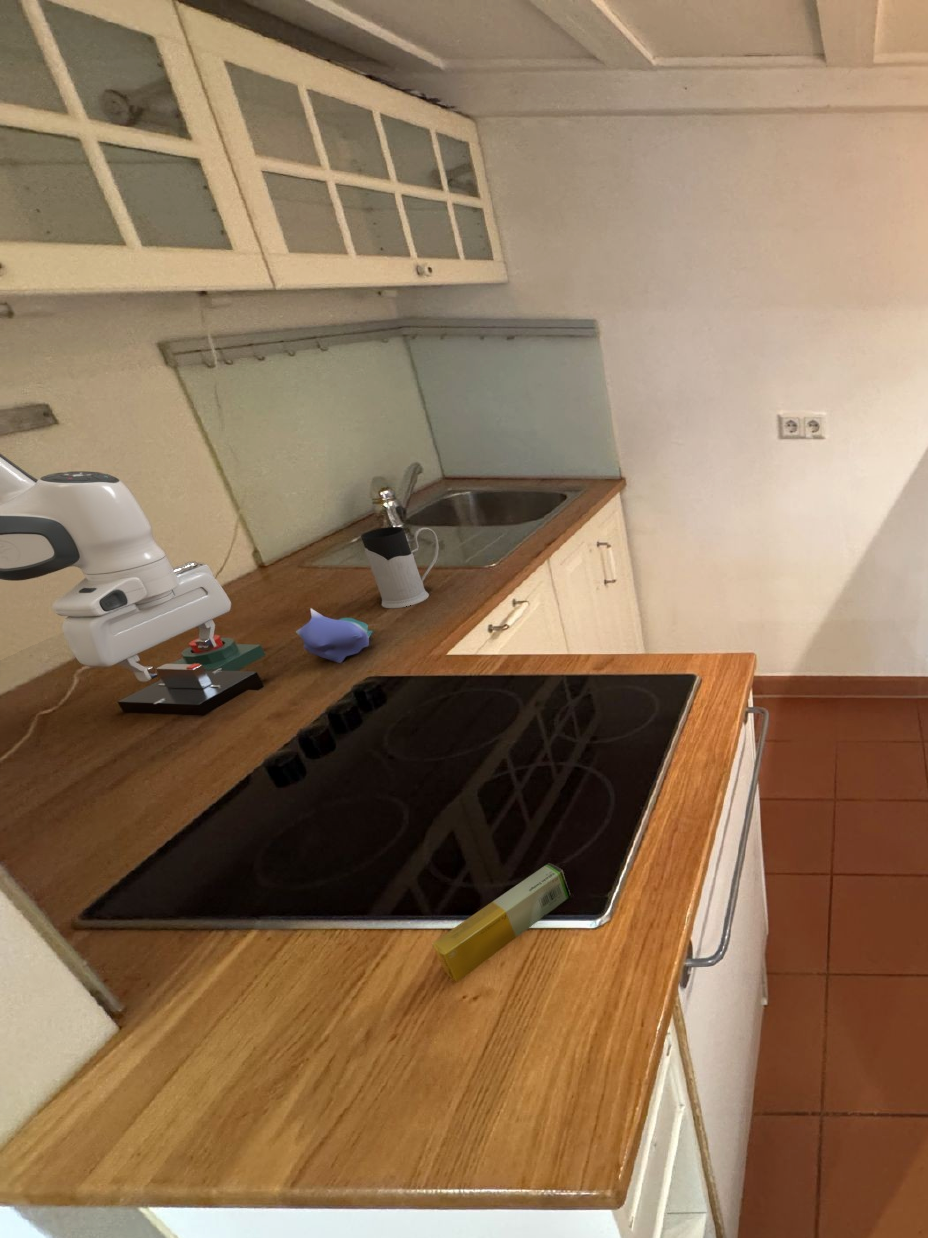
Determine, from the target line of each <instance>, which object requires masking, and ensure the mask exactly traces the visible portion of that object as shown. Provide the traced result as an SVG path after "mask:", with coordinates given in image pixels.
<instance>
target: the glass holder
mask: <svg viewBox="0 0 928 1238" xmlns="http://www.w3.org/2000/svg"><path fill="white" fill-rule="evenodd" d="M424 530H427V531H430V532H431V533H432V535H433V538H434V542H435V550H434V556H433V559H432V560H431V563H430V564H429V566H428V567H427V569H426V570H425V572H424V573H423V575H422V576H421V574H420V571H419V568H418V565H417V562H416V559H415V556H414V554H413V553H415V552H417V551H418V550H419V543H418V537H419V536H418V535H419V533H421V531H424ZM360 538H361V541H362V544H363V546H364V547H363V548H364V552H365V555H366V558H367V561H368V564H369V567H370V569H371V572H372V575H373V578H374V581H375V583H376V587H377V589H378V592H379V594H380V597H381V606H382V608H385V609H400V608H401V609H402V608H406V606H407V607H411V606H414V605H417V604H420V603H422V602H424V601H426V600H427V599H428V598H429V596H430V594H429V593H428V591H426V589H425V587H424V580H425V579H426V577H427V575H428V574H429V573H430V572H431V570H432V569H433V567H434V565H435V563H436V562H437V559H438V557H439V549H440V547H439V540H438V539H439V538H438V536H437V534H436V532H435V531H434V530H433V529H431V528H429V527H420V528H418V529H417V530H416V531H415V533H414V535H413V541H414V546H415V548H414V549H412V550H411V548H410V543H409V540H408V538H407V535H406V532H405V529H404V527H402V526H401V527H400V526H388V527H380V528H375V529H372V530H369V531H366V532H364V533H362V534H361V535H360ZM410 605H411V606H410Z"/></svg>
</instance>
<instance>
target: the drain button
mask: <svg viewBox="0 0 928 1238" xmlns="http://www.w3.org/2000/svg"><path fill="white" fill-rule="evenodd" d="M221 638H222V637H221V636H220V634H219V635H218V634H214V637H213V639H214V641H215V643H216V645H217V646H216V647H215V648H213V649H211V650H214V649H217V648H219V647H221V646H223V642H222V640H221ZM198 639H199V637H197V638H195V639H193V640H191V641H190V642H189V643H188V644H189V647H191V649H192V650H193V652H194V653H203V652H208V651H200V650H199V649H198V646H197V645H196V643H195V641H196V640H198ZM211 650H209V651H211Z"/></svg>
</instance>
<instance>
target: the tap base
mask: <svg viewBox="0 0 928 1238" xmlns="http://www.w3.org/2000/svg"><path fill="white" fill-rule="evenodd" d="M221 669H222V668H219V669H217V670H205V671H206V673H207V675H208V677H209V679H210V681H211V683H212V684H210V685H208V686H207V687H205V688H203V689H196V688H166V686H165V684H164V682H163V681H162V679H161V678H160V680H157V681H155V682H153V683H151V684H149V685H148V686H146V687H144V688H142V689H139V690H138V691H136V692H134V693H132V694H129V695H128V696H126V697H124V698H122V699H120V700H118V701H117V704H118V706H119V707H120V709H121V711H122V713H124V714H145V715H146V714H147V715H148V714H150V715H173V716H174V715H177V716H202V717H203V716H206V715H208V714H209V713H211V712H213V711H215V710H216V709H218V708H220V707H221V706H223V705H225V704H227V703H228V702H230V701H232V700H233V699H235V698H237V697H238V696H241V695H242V694H244V693H245V692H248V691H260V690H261V689H263V688H264V687H265V686H264V683H263V681H262V680H261V677H260V675H259V673H258V671H255V670H253V671H252V670H237V671H222V670H221Z"/></svg>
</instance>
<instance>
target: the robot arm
mask: <svg viewBox="0 0 928 1238" xmlns="http://www.w3.org/2000/svg"><path fill="white" fill-rule="evenodd" d="M70 567H75V568H79V570H80V571H81V572H82V573H83V575H84V577H85V578H84V579H82V580H81V581H80V582H79V583H77V584H76V585H75V586H74V587H72V588H71V589H70V590H68V591H67V592H65V593H64V594H62V595H61V596H60V597H59V598H57V599H56V600H55V601H54V602H52V604H51V607H52V610H53V612H54V613H55V614H56V615H58V616H60V617H66V618H65V619H64V620H63V622H62V625H61V627H62V633H63V635H64V636H63V637H64V639H65V640H66V643H67V644H68V647H69V648H70V650H71V652H72V654H73V655H74V657H75V658H76V660H77V662H78V663H79V664H81V665H83V666H86V667H89V668H110V667H112V666H115V665H118V666H120V667H122V668H124V669H126V670H127V671H130V672H132V673H133V674H134V676H135V677H136V679H137V680H138V681H139V682H149V681H151V680H153V679H155V678H157V677H158V675H159V673H158V672H157V671H156V668H155V667H154V666H149V665H148V666H146V665H145V666H144V665H142V664H140V663H138V662H140V661H141V659H140V656H139V655H138V654H140V653H143V652H145V651H147V650H149V649H151V648H153V647H156V646H158V645H160V644H162V643H164V642H166V641H168V640H171V639H173V638H174V637H177V636H179V635H181V634H184V633H186V632H188V631H190V630H192V629H194V628H195V629H198V630H199V631H198V638H199V639H198V640H196V641H195V643H196V645H197V646H198V649H199V650H200V651H209V650H211V649H213V648H215V647H216V646H217V645H216V643H215V641H214V639H213V637H214V635H215V629H216V624H215V622H214V619H216V618H218V617H221V616H223V615H225V614H227V613H229V612H230V611H231V609H232V602H231V600H230V598H229V596H228V594H227V593H226V592H225V590H224V588H223V587H222V586H221V584H220V582H219V581H218V580H217V579H216V578H215V576H214V573H213V571H212V570H211V567H209V565H208V564H205V563H204V562H200V561H196V560H191V561H188V562H185V563H184V564H181V565H177V566H174V567H173V566H172V564H171V562H170V560H169V557H168V556H167V554H166V553H165V550H164V549H162V548H161V546H159V544H158V543H157V542H156V541H155V538H154V534H153V528H152V525H151V523H150V521H149V519H148V517H147V516H146V513H145V512H144V510H143V508H142V507H141V505H140V503H139V502H138V501H137V499H136V497H135V496H134V495H133V493H132V491H130V489H129V488H128V487H127V485H126V484H125V483H123V481H122V480H121V479H119V478H117V477H116V476H113V475H111V474H108V473H103V472H98V471H86V470H84V471H83V470H82V471H81V470H80V471H77V470H75V471H66V472H54V473H49V474H46V475H43V476H41V477H40V478H38V479H37V478H36V477H34V476H32V474H29V473H28V472H26V471H25V470H24V469H22V468H21V467H20V466H18V465H17V464H15V463H14V462H13V461H11V460H10V459H9V458H7V457H6V456H5V455H3V454H2V453H0V580H2V581H11V582H13V581H14V582H15V581H18V582H21V581H26V580H32V579H37V578H40V577H44V576H47V575H49V574H52V573H55V572H58V571H61V570H64V569H67V568H70Z"/></svg>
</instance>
